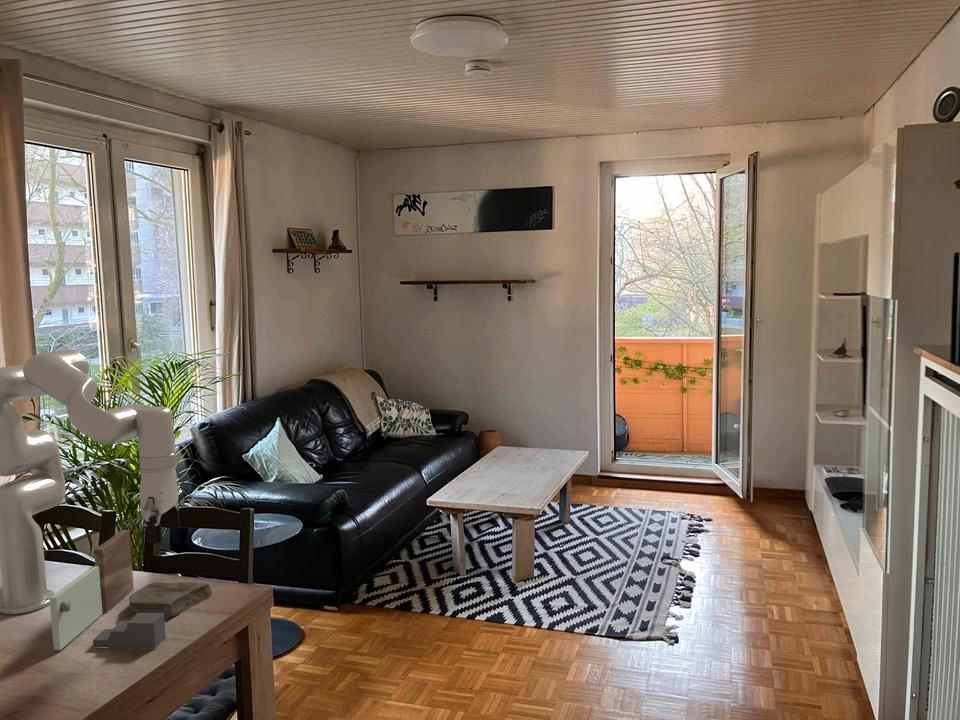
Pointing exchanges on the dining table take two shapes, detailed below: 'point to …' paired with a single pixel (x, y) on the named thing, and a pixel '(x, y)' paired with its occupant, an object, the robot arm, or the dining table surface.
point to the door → (75, 607)
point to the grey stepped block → (134, 632)
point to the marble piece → (169, 597)
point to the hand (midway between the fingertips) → (164, 534)
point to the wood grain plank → (114, 569)
